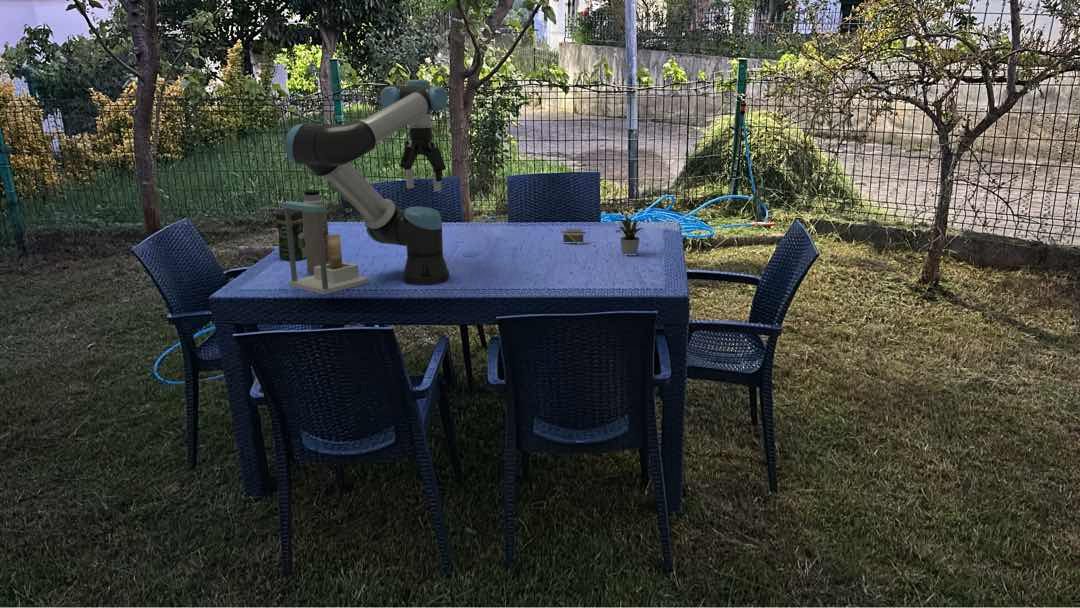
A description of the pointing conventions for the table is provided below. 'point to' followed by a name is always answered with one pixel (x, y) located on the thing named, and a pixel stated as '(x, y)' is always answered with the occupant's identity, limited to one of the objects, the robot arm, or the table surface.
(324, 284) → the cream tall frame
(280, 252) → the coffee jar
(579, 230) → the platform
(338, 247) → the oak peg
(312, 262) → the thermos bottle
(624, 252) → the house plant
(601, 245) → the table surface
